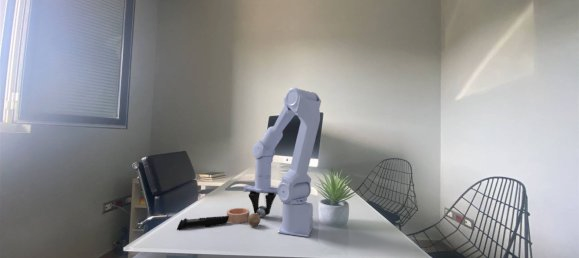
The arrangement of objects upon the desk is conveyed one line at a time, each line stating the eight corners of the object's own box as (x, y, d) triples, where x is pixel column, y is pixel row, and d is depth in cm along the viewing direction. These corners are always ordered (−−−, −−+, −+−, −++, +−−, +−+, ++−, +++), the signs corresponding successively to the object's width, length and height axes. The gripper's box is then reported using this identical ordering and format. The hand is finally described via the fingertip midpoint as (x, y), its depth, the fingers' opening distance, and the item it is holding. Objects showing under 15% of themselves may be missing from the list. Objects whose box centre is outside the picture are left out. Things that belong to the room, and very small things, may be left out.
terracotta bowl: (252, 216, 84) (252, 209, 84) (242, 224, 76) (242, 215, 76) (233, 214, 86) (234, 207, 86) (222, 221, 78) (222, 213, 78)
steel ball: (269, 216, 85) (269, 205, 85) (264, 219, 81) (265, 208, 82) (259, 214, 86) (259, 204, 87) (254, 218, 83) (254, 206, 83)
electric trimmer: (229, 227, 75) (229, 217, 75) (176, 231, 70) (177, 221, 70) (228, 223, 79) (228, 213, 79) (177, 227, 73) (178, 217, 74)
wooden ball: (262, 224, 76) (262, 212, 77) (257, 229, 73) (257, 216, 73) (251, 223, 77) (251, 211, 78) (245, 227, 74) (246, 214, 74)
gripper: (240, 175, 83) (238, 214, 82) (278, 178, 79) (277, 219, 78) (248, 173, 90) (247, 208, 89) (284, 175, 86) (283, 212, 85)
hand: (262, 213), depth 84 cm, fingers closed on steel ball, 4 cm apart
